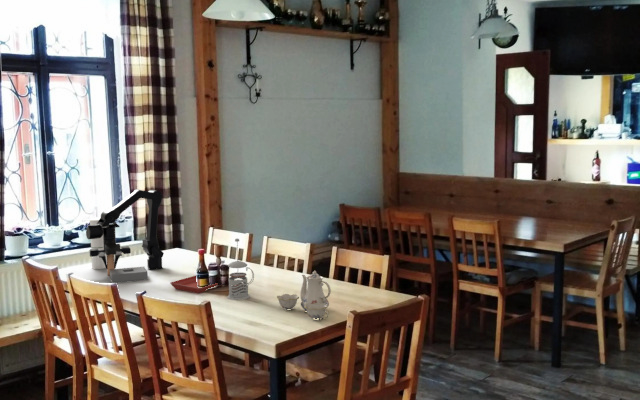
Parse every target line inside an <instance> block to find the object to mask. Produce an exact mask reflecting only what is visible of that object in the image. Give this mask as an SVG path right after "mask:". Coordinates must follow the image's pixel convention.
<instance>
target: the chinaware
mask: <svg viewBox="0 0 640 400" xmlns="http://www.w3.org/2000/svg"><path fill="white" fill-rule="evenodd" d="M301 277H302V284H301V289H300V295H299V296H300V297H299V296H298V294H296V293H295V294H289V293H283V294H282V295H276V298H277V300H278V303H279V305H280V306H281V307H282V308H283V309H293V308H295V306H296V305H297V302H298V300H299V299H300V301H301V302H300V307H301V308H302V309H303V310H304V311H307V313H306V314H307V315H308V316H309V317H310V318H311V319H313V318H315V319H317V318H319V319H320V318H321V319H322V318H323V319H327V318H328V317H329V311H328V310H327V309H328V307H329V306H330V302H329V300H328V298H329V297H330V295H331V294H332V293H331V291H332V290H331V286H330V284H329V283H328V282H326V281H325V280H323V279H324V276H321V275H320V274H318V273H317V271H316V270H314V271H312V273H311V274H310V275H308V276H307V277H306V275H305V274H302V275H301ZM324 285H326V286H327V289H328V293H327V296H326V295H325V294H324V290H323V286H324ZM325 311H326V312H325ZM325 314H326V317H324V315H325ZM323 319H322V320H323Z"/></svg>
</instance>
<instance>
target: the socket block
mask: <svg viewBox="0 0 640 400" xmlns="http://www.w3.org/2000/svg"><path fill="white" fill-rule="evenodd" d="M148 273H149V272H148V270H147V268H146V267H145V266H136V267H123V268H115V269H110V276H109V278H110V281H111V283H112V282H117V283H116V284H119V283H118V282H121V283H128V282H127V281H132V282H140V281H142V282H143V281H148V280H149V276H148Z"/></svg>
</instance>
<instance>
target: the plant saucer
mask: <svg viewBox="0 0 640 400" xmlns="http://www.w3.org/2000/svg"><path fill="white" fill-rule="evenodd" d="M170 285H171V286H172V287H173V288H174V289H176V290H180V291H185V292H191V293H197V294H201V293H205V292H206V291H205V290H206V289H208V288H211V287H214V286H216V285H218V283H215V284H212V285H208V286H205V287H202V288H198V287H197V282H196V275H193V276H190V277H185V278H181V279H178V280H174V281H171V282H170ZM204 291H205V292H204Z"/></svg>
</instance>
